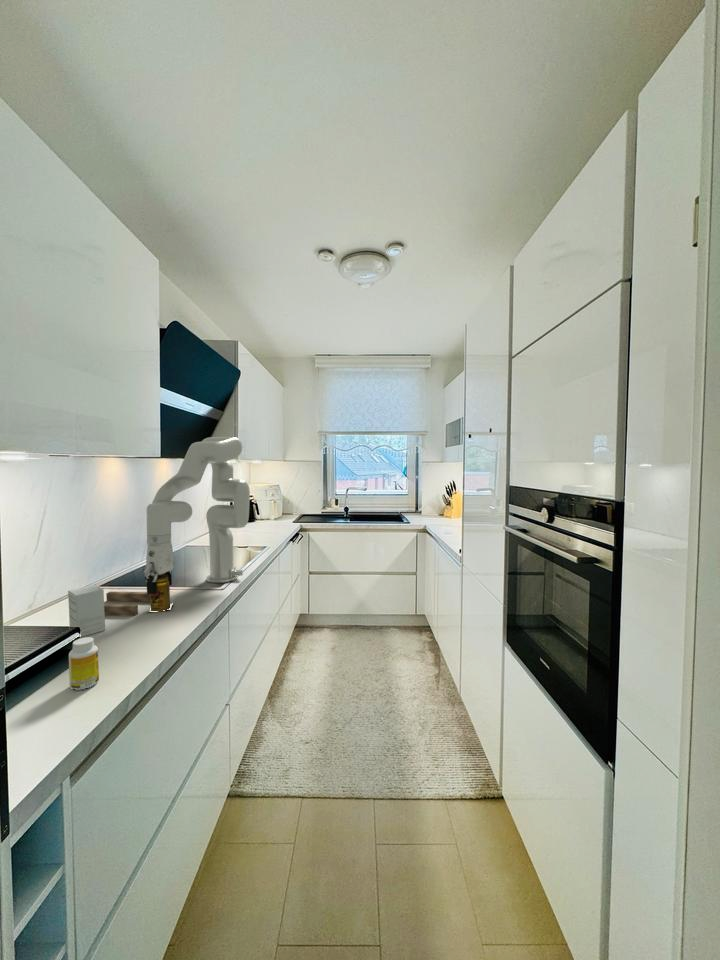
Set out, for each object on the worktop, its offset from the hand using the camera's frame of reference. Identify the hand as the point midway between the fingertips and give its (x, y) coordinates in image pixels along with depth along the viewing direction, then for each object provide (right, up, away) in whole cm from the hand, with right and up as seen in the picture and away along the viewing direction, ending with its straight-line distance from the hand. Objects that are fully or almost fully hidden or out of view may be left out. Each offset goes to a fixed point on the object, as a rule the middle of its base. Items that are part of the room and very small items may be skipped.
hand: (159, 589), depth 144 cm
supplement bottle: (+6, -9, -48) cm, 50 cm away
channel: (-14, -7, +2) cm, 15 cm away
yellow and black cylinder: (0, -7, +1) cm, 7 cm away
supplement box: (-13, -8, -19) cm, 24 cm away
